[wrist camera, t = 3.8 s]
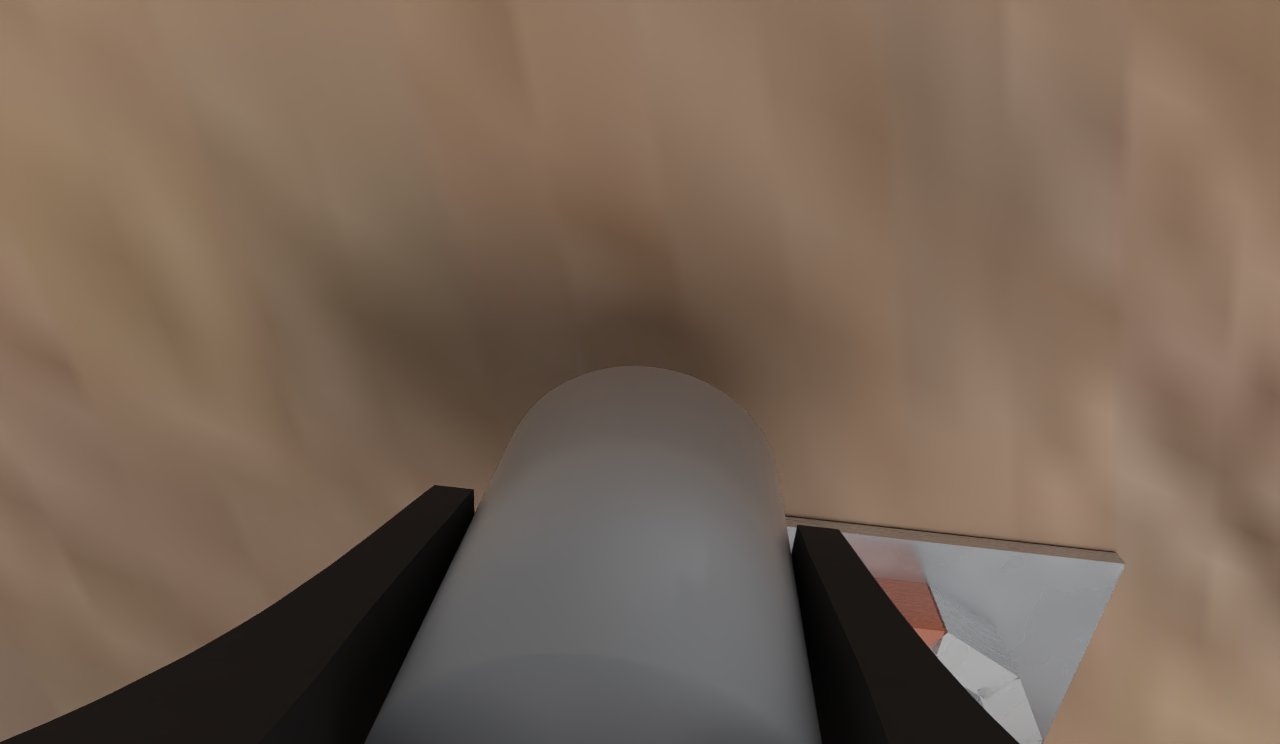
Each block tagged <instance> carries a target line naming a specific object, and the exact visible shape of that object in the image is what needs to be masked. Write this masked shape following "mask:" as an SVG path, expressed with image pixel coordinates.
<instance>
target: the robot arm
mask: <svg viewBox="0 0 1280 744" xmlns="http://www.w3.org/2000/svg"><path fill="white" fill-rule="evenodd" d="M473 517H474V489H465V488H456V487H446V486H437V485H434V486H433V487H431V488H430V489H429V490H428V491H426V492H425V493H424V494H422V495H421V496H420V497H418V498H417V499H416V500H414V501H413V502H412V503H411V504H409V505H408V506H407V507H405V508H404V509H403V510H402V511H400V512H399V513H398V514H397V515H395V516H394V517H393V518H392V519H390V520H389V521H388V522H386V523H385V524H384V525H383V526H381V527H380V528H379V529H378V530H376V531H375V532H374V533H372V534H371V535H370V536H369V537H367V538H366V539H365V540H363V541H362V542H361V543H359V544H358V545H357V546H355V547H354V548H353V549H351V550H350V551H349V552H347V553H346V554H345V555H343V556H342V557H341V558H339V559H338V560H337V561H335V562H334V563H333V564H331V565H330V566H329V567H327V568H326V569H324V570H323V571H321V572H320V573H318V574H317V575H316V576H314V577H313V578H311V579H310V580H308V581H307V582H305V583H304V584H302V585H301V586H299V587H298V588H297V589H295V590H294V591H292V592H291V593H289V594H288V595H286V596H285V597H283V598H282V599H281V600H279V601H278V602H276V603H275V604H273V605H272V606H270V607H268V608H267V609H265V610H264V611H262V612H261V613H259V614H257V615H256V616H254V617H252V618H251V619H249V620H247V621H246V622H244V623H243V624H241V625H239V626H238V627H236V628H234V629H232V630H231V631H229V632H227V633H225V634H224V635H222V636H220V637H218V638H217V639H215V640H213V641H211V642H210V643H208V644H206V645H205V646H203V647H201V648H199V649H197V650H196V651H194V652H192V653H190V654H188V655H186V656H185V657H183V658H181V659H179V660H177V661H175V662H173V663H171V664H169V665H167V666H165V667H163V668H161V669H159V670H157V671H155V672H153V673H151V674H149V675H147V676H145V677H143V678H141V679H139V680H137V681H135V682H133V683H131V684H129V685H127V686H125V687H123V688H121V689H119V690H117V691H115V692H113V693H111V694H109V695H107V696H105V697H103V698H101V699H99V700H96V701H94V702H92V703H90V704H88V705H85V706H83V707H81V708H79V709H77V710H74V711H72V712H70V713H68V714H65V715H63V716H61V717H59V718H56V719H54V720H52V721H50V722H47V723H45V724H43V725H40V726H38V727H36V728H33V729H31V730H28V731H26V732H24V733H21V734H19V735H16V736H14V737H12V738H9V739H7V740H4V741H2V742H0V744H364V743H365V741H366V739H367V737H368V735H369V732H370V730H371V728H372V726H373V724H374V722H375V720H376V718H377V716H378V714H379V712H380V710H381V708H382V705H383V703H384V701H385V699H386V697H387V695H388V693H389V691H390V689H391V687H392V685H393V683H394V681H395V679H396V676H397V674H398V672H399V670H400V668H401V666H402V664H403V662H404V660H405V658H406V656H407V654H408V652H409V649H410V647H411V645H412V643H413V641H414V639H415V637H416V635H417V633H418V631H419V629H420V627H421V625H422V622H423V620H424V618H425V616H426V614H427V612H428V610H429V608H430V606H431V604H432V602H433V600H434V598H435V595H436V593H437V591H438V589H439V587H440V585H441V583H442V581H443V579H444V577H445V575H446V573H447V571H448V569H449V566H450V564H451V562H452V560H453V558H454V556H455V554H456V552H457V550H458V548H459V546H460V544H461V542H462V539H463V537H464V535H465V533H466V531H467V529H468V527H469V525H470V523H471V521H472V519H473ZM791 555H792V561H793V567H794V573H795V580H796V586H797V592H798V598H799V604H800V611H801V617H802V623H803V629H804V635H805V642H806V648H807V654H808V660H809V666H810V673H811V679H812V685H813V691H814V697H815V704H816V710H817V716H818V722H819V728H820V735H821V741H822V744H1020V743H1019V742H1018V741H1016V740H1015V739H1014V738H1013V737H1012V736H1011V735H1010V734H1009V733H1008V732H1007V731H1006V730H1005V729H1004V728H1003V727H1002V726H1001V725H1000V724H999V723H998V722H997V721H996V720H995V719H994V718H993V717H992V716H991V715H990V714H989V713H988V712H987V711H986V710H985V709H984V708H983V707H982V706H981V705H980V704H979V703H978V702H977V701H976V700H975V699H974V698H973V697H972V695H971V694H970V693H969V692H968V691H967V690H966V689H965V688H964V687H963V686H962V685H961V683H960V682H959V681H958V680H957V679H956V678H955V677H954V676H953V674H952V673H951V672H950V671H949V670H948V669H947V668H946V667H945V666H944V664H943V663H942V662H941V661H940V660H939V659H938V658H937V656H936V655H935V654H934V653H933V652H932V651H931V649H930V648H929V647H928V646H927V645H926V643H925V642H924V641H923V640H922V638H921V637H920V636H919V635H918V633H917V632H916V631H915V630H914V628H913V627H912V626H911V625H910V623H909V622H908V621H907V620H906V618H905V617H904V616H903V615H902V613H901V612H900V611H899V610H898V608H897V607H896V606H895V605H894V603H893V602H892V601H891V599H890V598H889V597H888V595H887V594H886V593H885V591H884V590H883V589H882V587H881V586H880V585H879V583H878V582H877V581H876V579H875V578H874V577H873V575H872V574H871V572H870V571H869V570H868V568H867V567H866V566H865V564H864V563H863V561H862V560H861V559H860V557H859V556H858V555H857V553H856V552H855V550H854V549H853V548H852V546H851V545H850V544H849V542H848V541H847V539H846V538H845V537H844V536H843V534H842V533H841V532H840V530H839V529H832V528H823V527H814V526H805V525H797V529H796V533H795V538H794V543H793V548H792V553H791Z"/></svg>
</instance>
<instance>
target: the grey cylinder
mask: <svg viewBox="0 0 1280 744" xmlns="http://www.w3.org/2000/svg"><path fill="white" fill-rule="evenodd" d="M364 744H822V741H821V735H820V728H819V722H818V716H817V710H816V704H815V697H814V691H813V685H812V679H811V673H810V666H809V660H808V654H807V648H806V642H805V635H804V629H803V623H802V617H801V611H800V604H799V598H798V592H797V586H796V580H795V573H794V567H793V561H792V555H791V549H790V542H789V536H788V530H787V524H786V518H785V511H784V505H783V499H782V493H781V487H780V480H779V475H778V470H777V465H776V460H775V458H774V455H773V452H772V450H771V447H770V444H769V443H768V441H767V439H766V437H765V435H764V434H763V432H762V430H761V429H760V427H759V426H758V425H757V423H756V422H755V421H754V420H753V418H752V417H751V416H750V415H749V414H748V413H747V412H746V411H745V410H744V409H743V408H742V407H741V406H740V405H739V404H738V403H737V402H736V401H734V400H733V399H732V398H730V397H729V396H728V395H726V394H725V393H724V392H722V391H721V390H719V389H717V388H715V387H714V386H712V385H710V384H708V383H707V382H704V381H702V380H700V379H697V378H695V377H692V376H690V375H687V374H684V373H680V372H677V371H673V370H669V369H663V368H657V367H651V366H620V367H610V368H605V369H600V370H595V371H592V372H589V373H586V374H583V375H580V376H577V377H575V378H573V379H571V380H568V381H566V382H564V383H562V384H560V385H559V386H557V387H556V388H554V389H553V390H551V391H550V392H548V393H547V394H545V395H544V396H543V397H542V398H541V399H540V400H539V401H538V402H536V403H535V404H534V405H533V406H532V407H531V409H530V410H529V411H528V412H527V413H526V415H525V416H524V417H523V418H522V420H521V422H520V423H519V425H518V427H517V428H516V430H515V432H514V434H513V436H512V438H511V440H510V442H509V444H508V446H507V448H506V450H505V452H504V454H503V456H502V459H501V461H500V463H499V465H498V467H497V469H496V471H495V473H494V475H493V477H492V479H491V481H490V483H489V485H488V488H487V490H486V492H485V494H484V496H483V498H482V500H481V502H480V504H479V506H478V508H477V510H476V512H475V515H474V517H473V519H472V521H471V523H470V525H469V527H468V529H467V531H466V533H465V535H464V537H463V539H462V542H461V544H460V546H459V548H458V550H457V552H456V554H455V556H454V558H453V560H452V562H451V564H450V566H449V569H448V571H447V573H446V575H445V577H444V579H443V581H442V583H441V585H440V587H439V589H438V591H437V593H436V595H435V598H434V600H433V602H432V604H431V606H430V608H429V610H428V612H427V614H426V616H425V618H424V620H423V622H422V625H421V627H420V629H419V631H418V633H417V635H416V637H415V639H414V641H413V643H412V645H411V647H410V649H409V652H408V654H407V656H406V658H405V660H404V662H403V664H402V666H401V668H400V670H399V672H398V674H397V676H396V679H395V681H394V683H393V685H392V687H391V689H390V691H389V693H388V695H387V697H386V699H385V701H384V703H383V705H382V708H381V710H380V712H379V714H378V716H377V718H376V720H375V722H374V724H373V726H372V728H371V730H370V732H369V735H368V737H367V739H366V741H365V743H364Z"/></svg>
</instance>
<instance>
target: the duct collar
mask: <svg viewBox="0 0 1280 744" xmlns="http://www.w3.org/2000/svg"><path fill="white" fill-rule="evenodd" d="M785 518H786V524H787V530H788V536H789V542H790V549H791V553H792V548H793V543H794V538H795V533H796V529H797V525H805V526H814V527H823V528H832V529H839V530H840V532H841V533H842V534H843V536H844V537H845V538H846V539H847V541H848V542H849V544H850V545H851V546H852V548H853V549H854V550H855V552H856V553H857V555H858V556H859V557H860V559H861V560H862V561H863V563H864V564H865V566H866V567H867V568H868V570H869V571H870V572H871V574H872V575H873V577H874V578H875V579H876V581H877V582H878V583H879V585H880V586H881V587H882V589H883V590H884V591H885V593H886V594H887V595H888V597H889V598H890V599H891V601H892V602H893V603H894V605H895V606H896V607H897V608H898V610H899V611H900V612H901V613H902V615H903V616H904V617H905V618H906V620H907V621H908V622H909V623H910V625H911V626H912V627H913V628H914V630H915V631H916V632H917V633H918V635H919V636H920V637H921V638H922V640H923V641H924V642H925V643H926V645H927V646H928V647H929V648H930V649H931V651H932V652H933V653H934V654H935V655H936V656H937V658H938V659H939V660H940V661H941V662H942V663H943V664H944V666H945V667H946V668H947V669H948V670H949V671H950V672H951V673H952V674H953V676H954V677H955V678H956V679H957V680H958V681H959V682H960V683H961V685H962V686H963V687H964V688H965V689H966V690H967V691H968V692H969V693H970V694H971V695H972V697H973V698H974V699H975V700H976V701H977V702H978V703H979V704H980V705H981V706H982V707H983V708H984V709H985V710H986V711H987V712H988V713H989V714H990V715H991V716H992V717H993V718H994V719H995V720H996V721H997V722H998V723H999V724H1000V725H1001V726H1002V727H1003V728H1004V729H1005V730H1006V731H1007V732H1008V733H1009V734H1010V735H1011V736H1012V737H1013V738H1014V739H1015V740H1016V741H1018V742H1019V743H1020V744H1043V741H1044V739H1045V737H1046V735H1047V733H1048V731H1049V728H1050V726H1051V724H1052V722H1053V720H1054V718H1055V715H1056V713H1057V711H1058V709H1059V707H1060V705H1061V702H1062V700H1063V698H1064V696H1065V694H1066V692H1067V689H1068V687H1069V685H1070V683H1071V681H1072V679H1073V676H1074V674H1075V672H1076V670H1077V668H1078V666H1079V663H1080V661H1081V659H1082V657H1083V655H1084V653H1085V650H1086V648H1087V646H1088V644H1089V642H1090V640H1091V637H1092V635H1093V633H1094V631H1095V629H1096V627H1097V624H1098V622H1099V620H1100V618H1101V616H1102V614H1103V611H1104V609H1105V607H1106V605H1107V603H1108V601H1109V598H1110V596H1111V594H1112V592H1113V590H1114V588H1115V585H1116V583H1117V581H1118V579H1119V577H1120V575H1121V572H1122V570H1123V568H1124V566H1125V563H1124V561H1123V560H1122V559H1121V558H1120V556H1119V555H1118V554H1117V553H1112V552H1103V551H1094V550H1085V549H1076V548H1067V547H1058V546H1049V545H1040V544H1030V543H1021V542H1012V541H1003V540H994V539H985V538H976V537H967V536H958V535H949V534H940V533H931V532H922V531H912V530H903V529H894V528H885V527H876V526H867V525H858V524H849V523H840V522H831V521H822V520H813V519H804V518H795V517H785Z"/></svg>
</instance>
